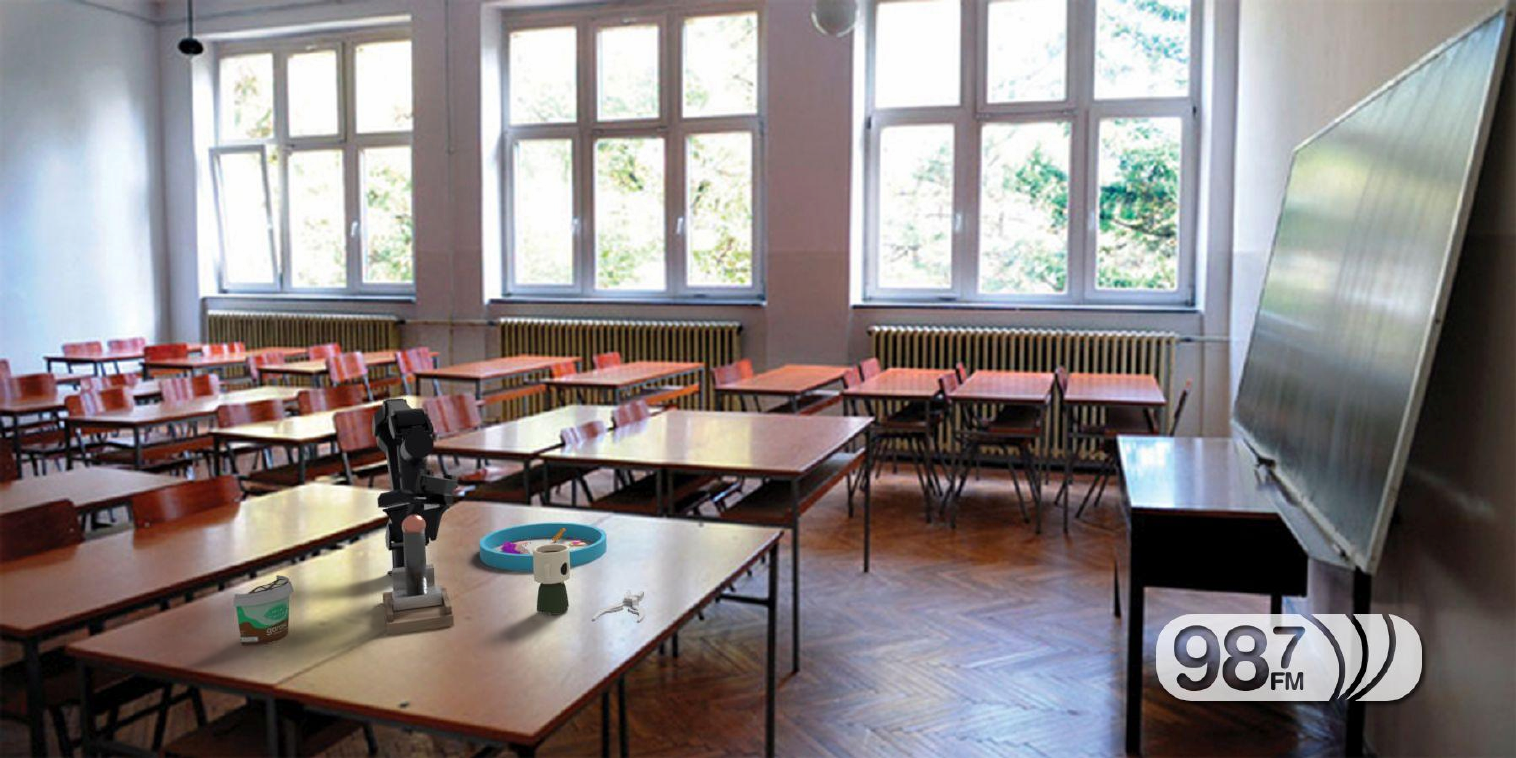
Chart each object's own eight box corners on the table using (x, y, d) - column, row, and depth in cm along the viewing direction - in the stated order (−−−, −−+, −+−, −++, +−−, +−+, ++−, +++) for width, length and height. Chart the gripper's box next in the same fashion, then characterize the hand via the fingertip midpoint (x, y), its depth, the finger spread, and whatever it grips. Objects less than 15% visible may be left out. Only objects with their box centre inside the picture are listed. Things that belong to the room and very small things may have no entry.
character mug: (566, 621, 191) (564, 555, 189) (529, 621, 191) (527, 556, 189) (575, 602, 202) (573, 540, 200) (540, 603, 201) (538, 541, 200)
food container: (265, 651, 177) (262, 597, 176) (235, 648, 178) (232, 594, 177) (309, 626, 189) (307, 576, 188) (281, 624, 190) (278, 574, 189)
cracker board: (383, 602, 203) (381, 568, 202) (443, 594, 207) (442, 562, 206) (387, 634, 184) (385, 598, 183) (453, 625, 189) (452, 590, 188)
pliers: (591, 614, 191) (613, 589, 206) (591, 622, 191) (613, 596, 206) (640, 616, 190) (659, 591, 205) (640, 624, 190) (659, 598, 205)
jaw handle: (392, 602, 195) (388, 513, 193) (439, 596, 199) (436, 509, 197) (393, 611, 190) (389, 519, 188) (442, 604, 194) (438, 514, 192)
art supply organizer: (453, 564, 230) (452, 539, 229) (527, 532, 258) (526, 510, 257) (564, 578, 219) (563, 552, 218) (628, 543, 247) (628, 520, 246)
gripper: (420, 456, 197) (428, 534, 194) (470, 462, 215) (479, 533, 212) (372, 467, 199) (379, 544, 196) (426, 472, 217) (433, 542, 214)
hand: (420, 540), depth 205 cm, fingers open, 9 cm apart
